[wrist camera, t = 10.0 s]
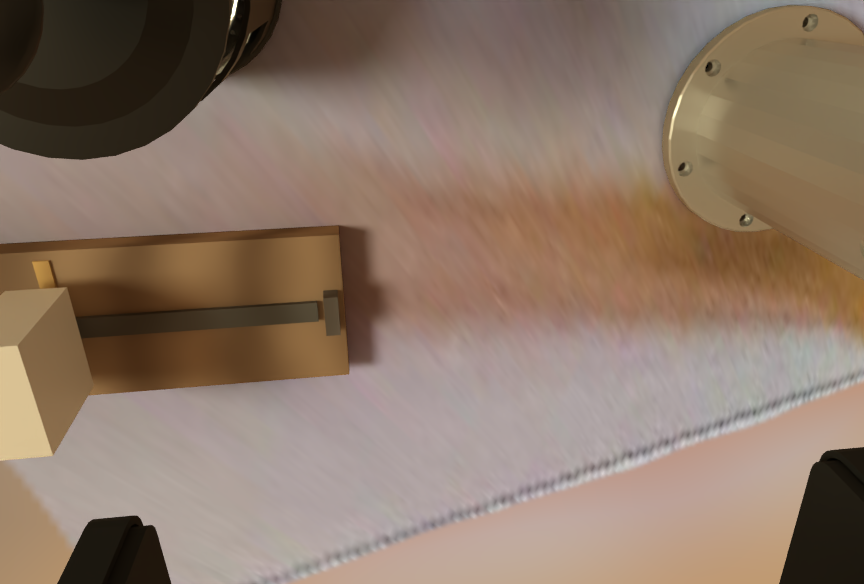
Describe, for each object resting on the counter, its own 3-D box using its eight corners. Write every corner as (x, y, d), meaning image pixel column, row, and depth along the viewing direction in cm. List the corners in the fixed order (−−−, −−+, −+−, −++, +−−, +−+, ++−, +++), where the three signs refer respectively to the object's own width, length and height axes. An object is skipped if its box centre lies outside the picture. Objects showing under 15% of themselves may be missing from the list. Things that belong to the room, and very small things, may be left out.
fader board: (338, 225, 38) (338, 241, 35) (348, 361, 42) (349, 383, 39) (-81, 248, 35) (-109, 267, 33) (-28, 390, 39) (-50, 416, 37)
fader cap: (72, 280, 35) (17, 345, 29) (98, 377, 37) (53, 455, 31) (11, 284, 34) (-58, 350, 28) (42, 381, 37) (-16, 461, 31)
